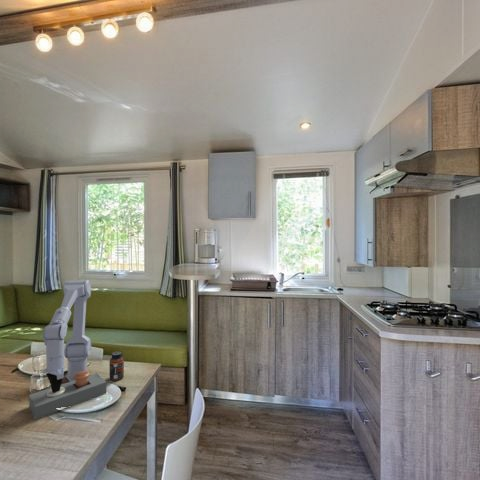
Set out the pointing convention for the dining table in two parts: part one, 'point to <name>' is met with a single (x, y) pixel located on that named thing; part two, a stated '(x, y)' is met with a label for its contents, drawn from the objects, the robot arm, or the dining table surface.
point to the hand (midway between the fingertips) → (55, 391)
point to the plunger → (51, 394)
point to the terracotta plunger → (81, 378)
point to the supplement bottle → (116, 366)
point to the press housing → (66, 396)
